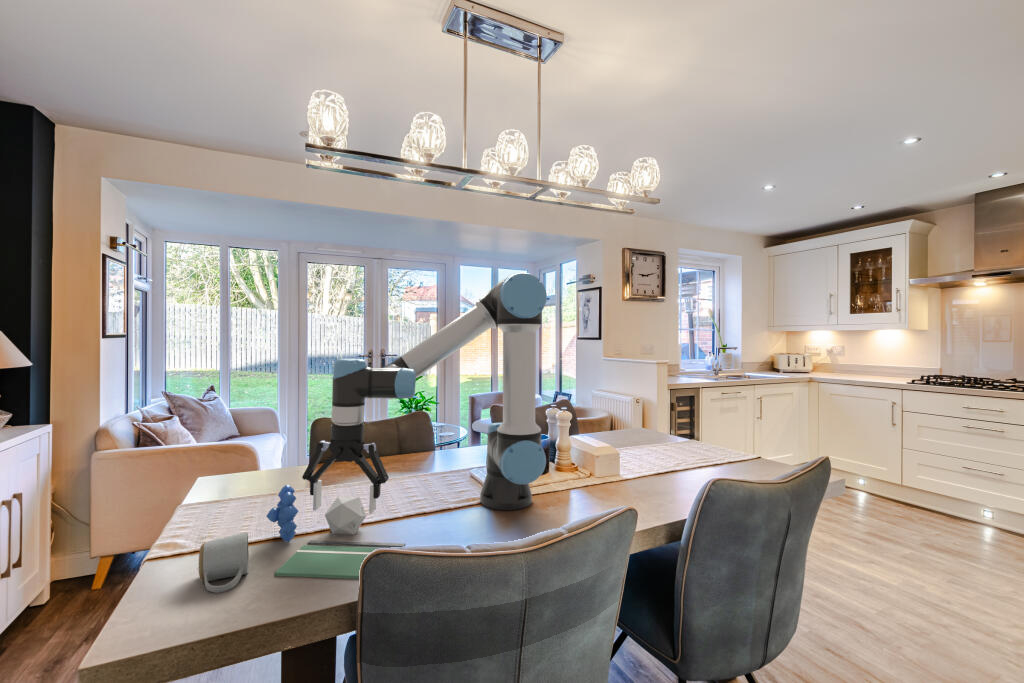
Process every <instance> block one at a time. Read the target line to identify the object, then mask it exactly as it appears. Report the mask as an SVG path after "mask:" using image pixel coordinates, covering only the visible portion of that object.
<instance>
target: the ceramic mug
mask: <svg viewBox="0 0 1024 683" xmlns="http://www.w3.org/2000/svg"><path fill="white" fill-rule="evenodd" d="M249 553H250V551H249V533H248V532H247V531H246V532H241V533H237V534H233V535H232V534H231V535H229V536H225V537H219V538H216V539H211V540H208V541H206V542H203V543H202V544H201V545H200V547H199V554H198V576H199V580H201V581H202V582H204V586H205V588H206V590H207V591H208V592H210V593H211V592H212V593H215V594H217V593H222V592H223V593H224V592H227V591H229V590H231V589H232V588H233V587H235V586H236V585H237V584H238V583H239V581H240V579H241V577H242V576H243V575H247V574H248V573H249V562H250V561H249V558H250V557H249ZM232 577H234V578H233V579H232V580H231V581H228V583H226V584H224V585H212V584H210V583H209V581H211V582H212V581H216V580H220V579H226V578H232Z"/></svg>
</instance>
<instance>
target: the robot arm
mask: <svg viewBox="0 0 1024 683" xmlns="http://www.w3.org/2000/svg"><path fill="white" fill-rule="evenodd" d="M547 297H548V296H547V289H546V287H545V285H544V284H543V282H542V281H541V279H539V277H538V276H536V275H534V274H531V273H528V272H515V273H512V274H509V275H508V276H507V277H506V278H503V279H501V280H500V281H499V282H497V283H496V284H495V285H494V286H492V288H491V289H490V290H489V291H488V292H486V293H485V294H484V295H483V296H482V297H481V298H478V299H477V300H476V302H475V304H474V306H473V307H472V308H470V309H468V310H467V311H465V312H464V313H463V314H461V315H460V316H459V317H457V318H455V319H454V320H452V321H451V322H450V323H448V324H446V325H445V326H443V327H442V328H440V329H439V330H437V331H436V332H435V333H433V334H432V335H431V336H429V337H427V338H426V339H425V340H423V341H421V342H420V343H418V344H417V345H415V346H414V347H413V348H411V349H410V350H408V351H406V352H405V353H403V354H402V355H401V356H399V357H397V359H395V360H393V361H392V362H391V363H387V364H386V365H385V366H384V367H370V366H368V365H367V360H366V359H363V358H338V359H337V360H336V361H334V364H333V374H332V375H333V376H332V395H331V396H332V398H331V399H332V402H331V418H330V421H331V422H332V423H331V425H330V441H327V440H325V439H323V440H320V441H318V442H317V443H316V449H315V453H314V454H313V456H312V458H311V460H310V461H309V463H308V465H307V467H306V469H305V471H304V473H303V474H302V476H301V478H302V480H304V481H305V480H306V481H309V484H310V485H309V494H310V496H313V497H312V511H317V510H318V509H320V508H321V506H322V487H323V486H322V485H323V480H322V479H320V478H321V477H322V476H323V475H324V474H325V472H326V471H327V470H328V469H329V468H330V467H331V466H332V464H334V462H335V461H337V462H339V463H341V462H347V463H352V462H354V463H355V464H356V465H357V466H359V468H360V469H361V470H362V471H363V473H364V474H365V476H366V477H367V478H368V480H369V481H370V482H371V483H372V484H370V486H369V501H368V503H369V504H368V505H369V506H368V507H369V508H368V512H369V513H368V514H373V513H374V512H375V510H376V509H377V508H376V507H377V499H378V498H380V496H381V484H386V482H387V481H388V480H389V475H388V473H387V470H386V468H385V466H384V464H383V462H382V459H381V457H380V455H379V453H378V449H377V448H378V446H377V442H371V443H365V442H364V434H365V424H364V423H363V422H364V420H365V408H366V407H365V406H366V399H393V400H396V399H398V400H403V399H413V398H414V397H415V395H416V382H417V381H416V380H417V379H418V378H420V377H421V376H423V374H425V373H427V372H428V371H429V370H431V369H432V368H434V367H435V366H437V365H438V364H440V363H441V362H443V361H445V359H448V357H450V356H451V355H453V354H454V353H456V352H457V351H459V350H460V349H462V348H463V347H465V346H466V345H468V344H469V343H471V342H472V341H473V340H475V339H476V338H478V337H480V336H481V335H482V334H483V333H485V332H487V331H488V330H489V329H494V330H495V329H497V328H499V329H500V330H501V331H502V422H494V423H493V422H492V423H490V424H489V425H487V426H488V427H487V433H486V436H487V445H486V446H487V448H486V449H487V450H486V475H485V479H484V481H483V485H482V488H481V490H480V493H479V494H480V495H479V501H480V503H481V505H483V506H484V507H486V508H487V509H488V508H489V509H493V510H498V511H516V510H518V511H519V510H522V509H526V508H528V507H529V506H531V505H532V502H533V494H532V490H531V487H530V484H531V483H533V482H535V481H536V480H538V478H540V477H541V476H542V474H543V473H544V472H545V468H546V464H547V458H546V457H547V456H546V453H545V450H544V448H543V447H542V428H541V427H540V426H539V425H538V424H537V422H536V366H537V365H536V360H537V359H536V357H537V355H536V354H537V353H536V347H537V346H536V343H537V342H536V341H537V340H536V338H537V337H536V334H537V331H538V330H539V329H540V328H541V327H542V312H543V310H544V308H545V306H546V303H547ZM328 449H329V451H330V452H331V454H330V456H329V457H327V460H326V461H325V462H324V463H322V465H321V466H320V467H319V468H318V469H317V466H318V464H319V463H320V461H321V459H322V457H323V456H324V453H325V451H327V450H328ZM364 451H366V453H368V454H369V458H370V461H371V462H372V464H373V465H371V464H370V463H369V461H368V460H367V459H366V457H365V455H364V454H363V452H364ZM373 467H374V468H373ZM315 469H317V471H316V472H315Z"/></svg>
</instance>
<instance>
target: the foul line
mask: <svg viewBox="0 0 1024 683" xmlns="http://www.w3.org/2000/svg"><path fill="white" fill-rule="evenodd" d="M307 545H325V546H353V547H381V548H403V547H402V546H404V547H405V546H406V543H403V542H402V543H400V542H399V543H398V542H396V543H395V542H394V543H393V542H376V541H375V542H372V541H371V542H369V541H367V542H366V541H342V540H319V539H317V540H316V539H315V540H314V539H311V540H308V541H307Z"/></svg>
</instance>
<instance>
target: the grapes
mask: <svg viewBox="0 0 1024 683" xmlns="http://www.w3.org/2000/svg"><path fill="white" fill-rule="evenodd" d="M294 493H295V489H294V488H293V487H292V486H291V485H289V484H286V485H284V486H283V487H282V488H281V490H280V491H279V492H278V495H277V496H278V498H279V499H280V500H279V501H278V503H277V504H276V507H275V506H274V507H272V508H270V510H269V511H268V512H267V514H266V518H267V519H268V520H269V521H270V522H271V523H272V522H273V523H277V526H279V528H280V529H279V531H278V534H279V537H280V538H281V539H282V540H283V541H284V542H286V543H289V542H291V540H293V539H294V537H295V535H296V534H297V532H296V531H295V530H296V529H297V527H298V525H297V524H296V523H295V522H294V519H295V518H296V516H297V514H298V512H299V509H298V508H297V507H296V506H295V505H294V503H295V501H296V500H297V497H296V496H295V495H294Z"/></svg>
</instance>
